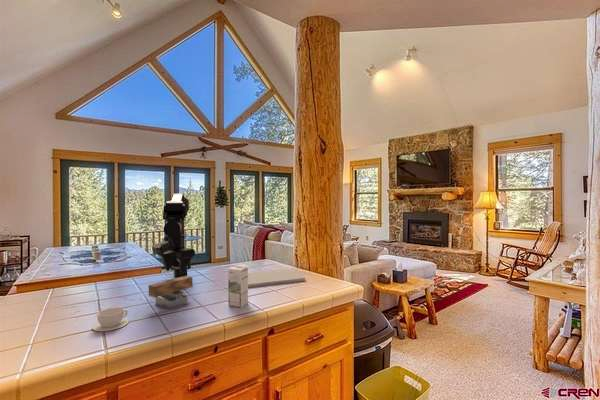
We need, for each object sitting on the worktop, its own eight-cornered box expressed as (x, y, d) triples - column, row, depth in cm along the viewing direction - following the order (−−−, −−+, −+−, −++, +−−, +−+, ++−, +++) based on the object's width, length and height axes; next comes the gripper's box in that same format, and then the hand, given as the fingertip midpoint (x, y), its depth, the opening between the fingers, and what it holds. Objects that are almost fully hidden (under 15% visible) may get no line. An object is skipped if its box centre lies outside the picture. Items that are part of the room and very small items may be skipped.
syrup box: (248, 302, 117) (248, 266, 117) (240, 308, 112) (240, 269, 112) (235, 301, 119) (235, 265, 119) (227, 306, 114) (227, 268, 114)
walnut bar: (186, 285, 124) (186, 275, 124) (192, 286, 122) (192, 277, 122) (148, 295, 111) (148, 284, 111) (154, 297, 108) (154, 286, 108)
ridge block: (155, 304, 116) (155, 291, 116) (172, 298, 122) (172, 286, 122) (170, 309, 110) (170, 295, 110) (187, 303, 116) (187, 290, 116)
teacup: (101, 335, 90) (101, 320, 90) (86, 328, 95) (86, 313, 95) (135, 323, 98) (135, 309, 98) (119, 317, 103) (119, 303, 103)
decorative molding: (304, 286, 150) (296, 276, 158) (305, 277, 148) (297, 268, 157) (235, 295, 136) (231, 283, 145) (236, 285, 135) (232, 274, 144)
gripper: (141, 233, 117) (142, 273, 117) (169, 237, 106) (169, 281, 107) (168, 230, 126) (168, 267, 126) (196, 234, 116) (196, 274, 116)
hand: (174, 272), depth 119 cm, fingers open, 9 cm apart
